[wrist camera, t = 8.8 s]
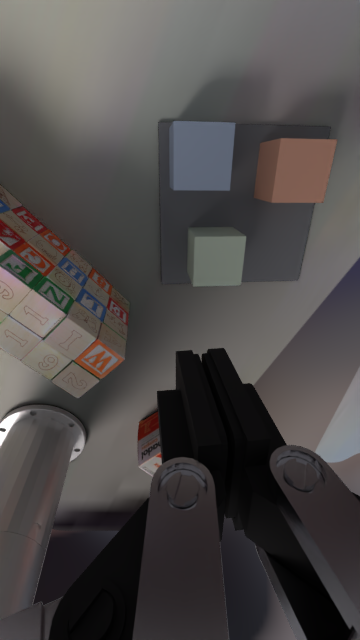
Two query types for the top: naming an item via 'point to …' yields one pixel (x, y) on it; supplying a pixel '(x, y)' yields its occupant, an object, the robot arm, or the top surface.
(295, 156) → the terracotta cube
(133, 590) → the robot arm
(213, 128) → the slate-blue cube
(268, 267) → the charcoal mat
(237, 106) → the top surface
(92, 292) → the stack of blocks
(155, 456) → the medicine box
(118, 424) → the top surface
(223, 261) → the sage cube
